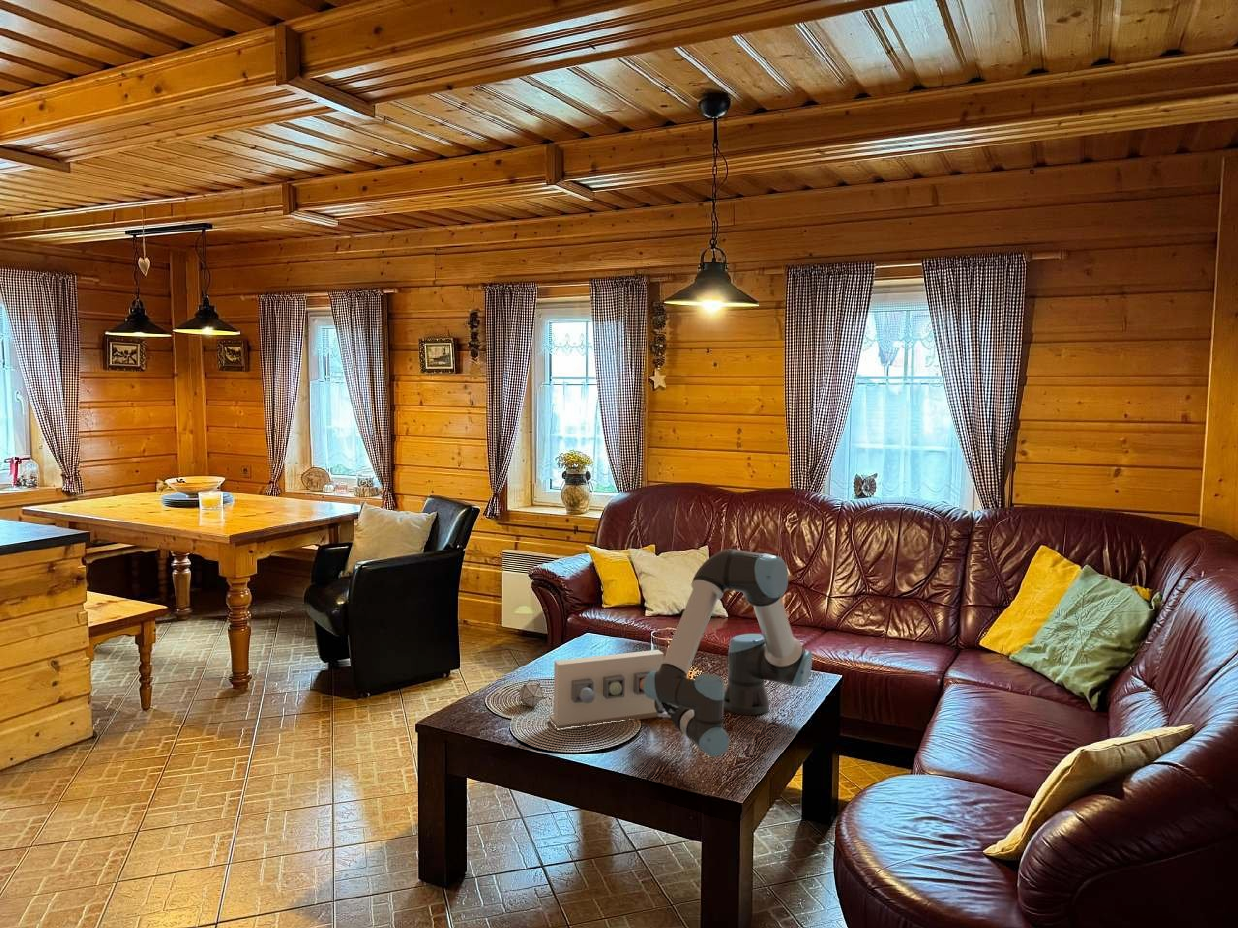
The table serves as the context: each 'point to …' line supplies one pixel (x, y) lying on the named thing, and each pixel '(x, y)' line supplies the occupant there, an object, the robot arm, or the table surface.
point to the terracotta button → (641, 683)
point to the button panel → (603, 688)
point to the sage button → (614, 687)
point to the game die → (531, 694)
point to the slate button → (586, 695)
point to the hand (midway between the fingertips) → (655, 691)
